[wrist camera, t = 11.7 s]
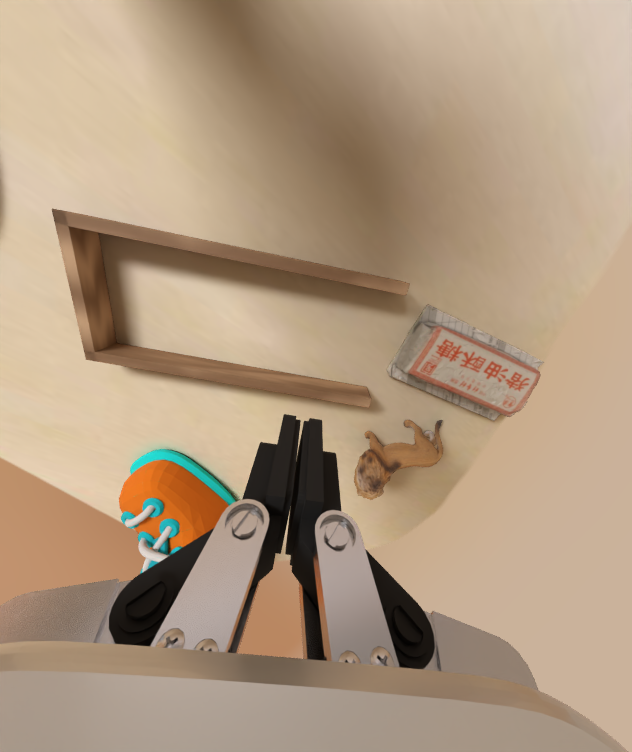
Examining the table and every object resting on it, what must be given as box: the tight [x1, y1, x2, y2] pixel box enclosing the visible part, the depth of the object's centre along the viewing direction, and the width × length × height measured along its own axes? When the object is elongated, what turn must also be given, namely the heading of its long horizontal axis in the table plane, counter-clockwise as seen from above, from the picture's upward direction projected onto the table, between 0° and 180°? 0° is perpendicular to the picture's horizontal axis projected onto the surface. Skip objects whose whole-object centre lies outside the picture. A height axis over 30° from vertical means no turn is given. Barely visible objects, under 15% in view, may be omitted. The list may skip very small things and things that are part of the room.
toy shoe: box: [119, 449, 236, 574], centre depth 37 cm, size 12×20×15 cm, turn 33°
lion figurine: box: [354, 420, 443, 500], centre depth 34 cm, size 15×5×9 cm, turn 117°
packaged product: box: [387, 305, 544, 421], centre depth 31 cm, size 18×5×10 cm
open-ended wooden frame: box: [52, 209, 410, 408], centre depth 29 cm, size 15×35×4 cm, turn 79°
